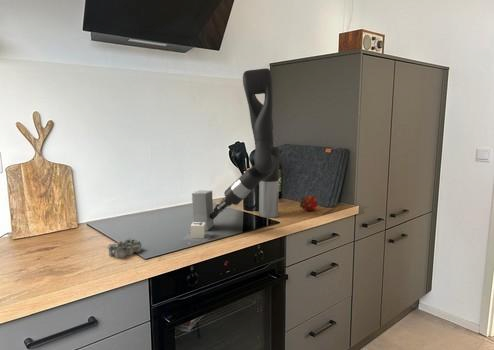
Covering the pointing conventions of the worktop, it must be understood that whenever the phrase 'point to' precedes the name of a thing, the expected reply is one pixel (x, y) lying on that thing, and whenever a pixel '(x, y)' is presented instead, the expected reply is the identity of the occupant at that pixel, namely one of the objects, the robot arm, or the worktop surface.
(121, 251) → the grey lumpy piece
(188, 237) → the reading mat
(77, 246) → the worktop surface
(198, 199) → the skincare box
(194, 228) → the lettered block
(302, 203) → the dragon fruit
